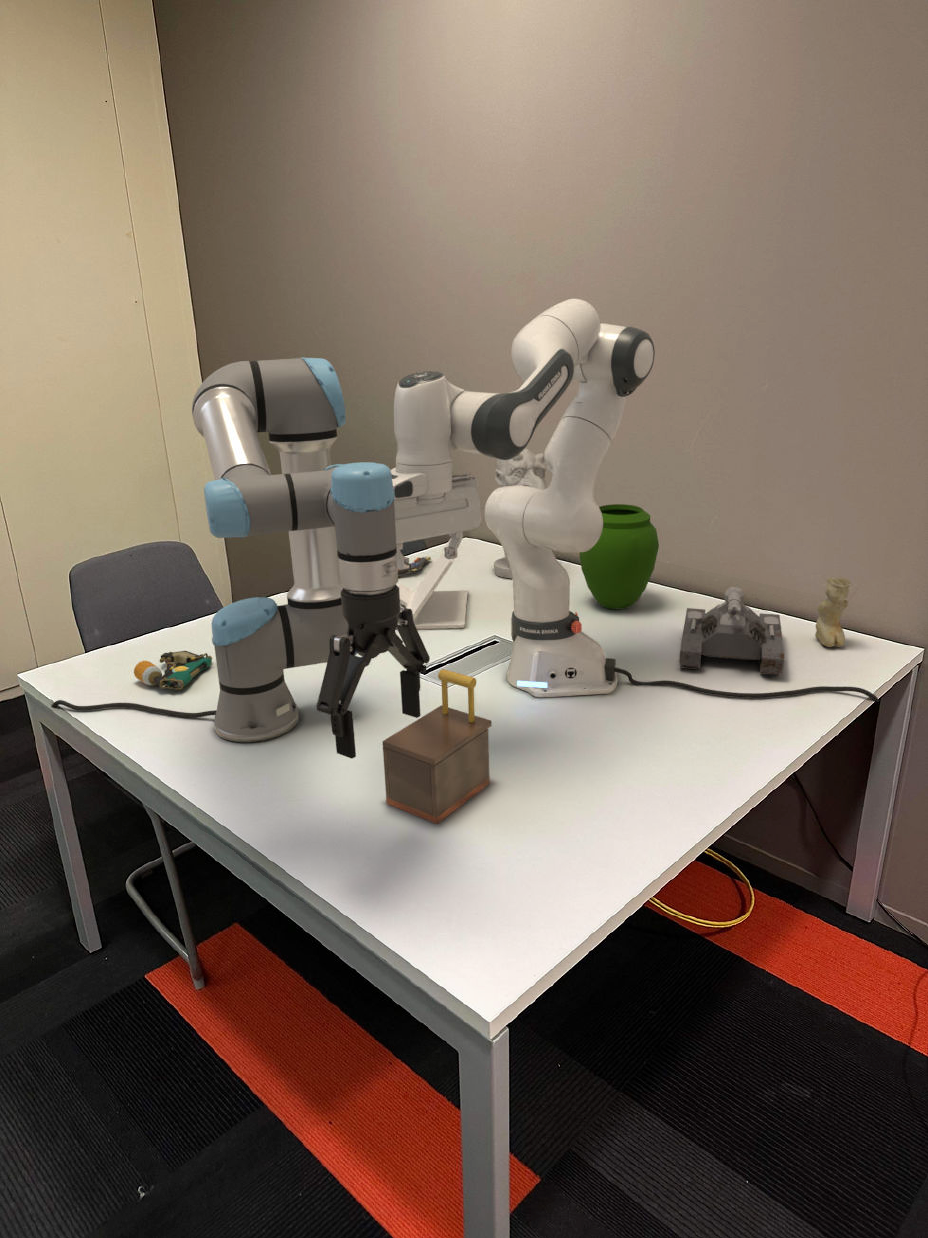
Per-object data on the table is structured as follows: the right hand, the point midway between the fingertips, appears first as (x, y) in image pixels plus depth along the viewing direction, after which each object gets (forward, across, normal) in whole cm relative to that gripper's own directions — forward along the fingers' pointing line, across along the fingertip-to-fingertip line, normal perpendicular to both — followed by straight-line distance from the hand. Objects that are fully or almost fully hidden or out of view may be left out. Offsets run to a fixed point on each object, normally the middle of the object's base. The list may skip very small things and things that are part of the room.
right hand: (427, 563), depth 140 cm
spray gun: (+33, +27, -57) cm, 72 cm away
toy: (+32, -72, +7) cm, 79 cm away
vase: (+32, -75, -30) cm, 87 cm away
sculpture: (+32, -93, +17) cm, 99 cm away
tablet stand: (+32, -36, -56) cm, 75 cm away
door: (+23, +8, +14) cm, 28 cm away
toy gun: (+32, -50, -89) cm, 108 cm away
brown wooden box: (+33, +9, +15) cm, 37 cm away
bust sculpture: (+32, -73, -64) cm, 102 cm away
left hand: (+15, +22, +21) cm, 34 cm away
